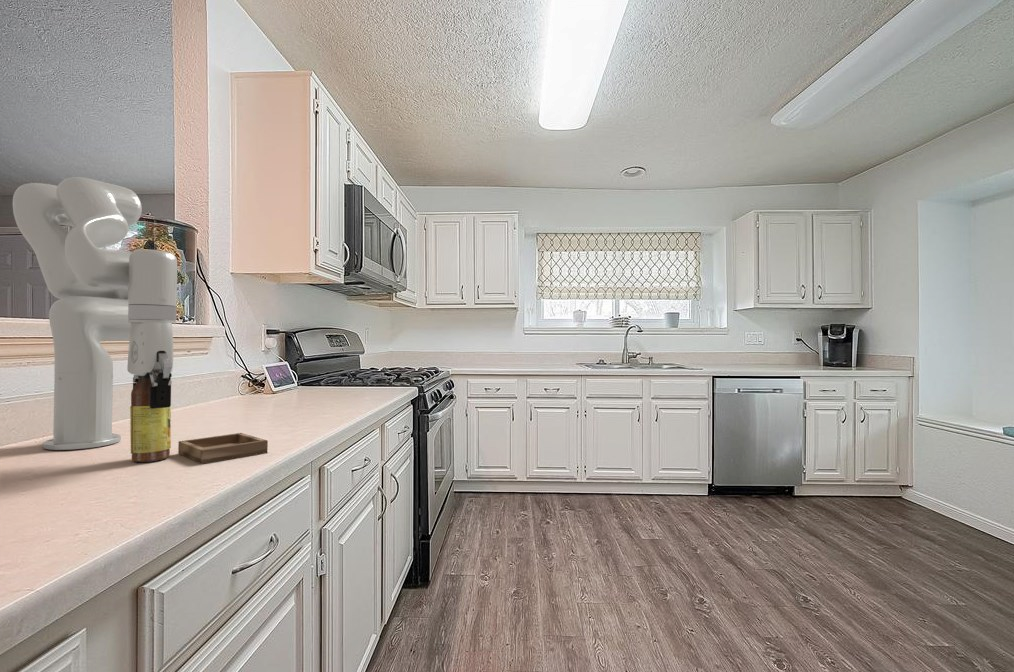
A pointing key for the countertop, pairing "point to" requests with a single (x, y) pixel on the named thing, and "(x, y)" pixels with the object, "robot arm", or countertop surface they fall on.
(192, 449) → the tray
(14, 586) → the countertop surface
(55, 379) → the robot arm
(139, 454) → the sauce bottle
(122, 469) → the countertop surface
